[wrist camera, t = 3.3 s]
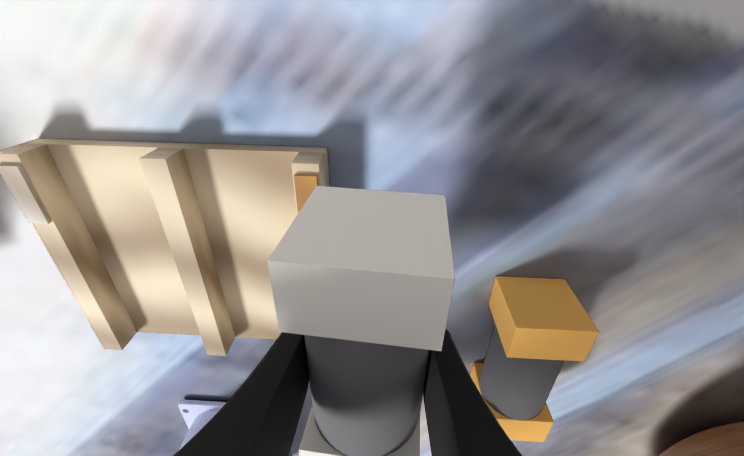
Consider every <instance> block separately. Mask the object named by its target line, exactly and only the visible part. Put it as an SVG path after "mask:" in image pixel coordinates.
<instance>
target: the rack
mask: <svg viewBox="0 0 744 456" xmlns="http://www.w3.org/2000/svg"><path fill="white" fill-rule="evenodd" d="M0 174H1V176H2V177H3V179H4V181H5V183H6V184H7V186H8V188H9V190H10V191H11V193H12V195H13V196H14V198H15V200H16V202H17V203H18V205H19V207H20V209H21V210H22V212H23V214H24V215H25V217H26V219H27V221H28V222H29V223H32V224H33V226H34V228H35V230H36V231H37V233H38V235H39V236H40V238H41V240H42V242H43V243H44V245H45V247H46V249H47V250H48V252H49V254H50V256H51V257H52V259H53V261H54V263H55V264H56V266H57V268H58V270H59V271H60V273H61V275H62V277H63V278H64V280H65V282H66V283H67V285H68V287H69V289H70V290H71V292H72V294H73V296H74V297H75V299H76V301H77V303H78V304H79V306H80V308H81V310H82V311H83V313H84V315H85V317H86V318H87V320H88V322H89V324H90V325H91V327H92V329H93V330H94V332H95V334H96V336H97V337H98V339H99V341H100V343H101V344H102V346H103V348H104V349H114V350H123V348H124V347H125V346H126V345H127V344H128V342H129V341H130V340H131V339H132V337H133V336H134V335H135V334H136V333H137V332H148V333H167V334H186V335H201V337H202V340H203V343H204V346H205V349H206V352H207V355H223V356H226V355H227V353H228V351H229V349H230V347H231V345H232V343H233V341H234V339H235V337H243V338H262V339H277V338H278V337H279V335H280V334H281V332H279V328H278V322H277V316H276V310H275V304H274V298H273V292H272V286H271V280H270V274H269V268H268V262H267V260H268V259H269V257H270V256H271V254H272V253H273V251H274V250H275V248H276V246H277V245H278V243H279V242H280V240H281V239H282V237H283V236H284V234H285V233H286V231H287V230H288V228H289V227H290V225H291V224H292V222H293V221H294V219H295V218H296V216H297V215H298V213H299V212H300V210H301V209H302V207H303V205H304V204H305V202H306V201H307V199H308V198H309V196H310V195H311V193H312V192H313V190H314V189H315V187H316V186H326V187H330V184H329V166H328V147H300V146H267V145H234V144H200V143H167V142H134V141H101V140H68V139H34V140H31V141H28V142H25V143H22V144H19V145H16V146H13V147H10V148H7V149H4V150H1V151H0Z"/></svg>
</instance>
